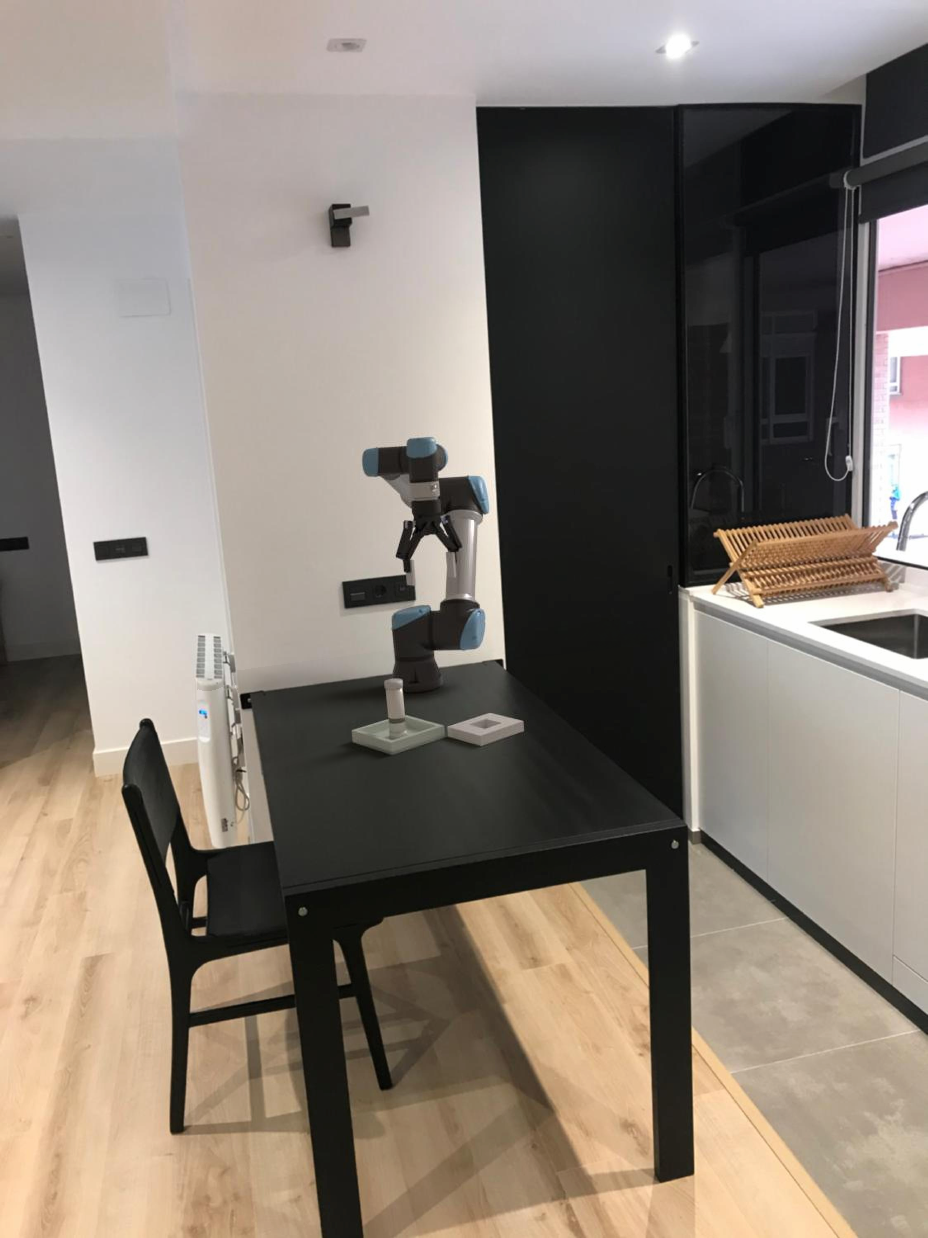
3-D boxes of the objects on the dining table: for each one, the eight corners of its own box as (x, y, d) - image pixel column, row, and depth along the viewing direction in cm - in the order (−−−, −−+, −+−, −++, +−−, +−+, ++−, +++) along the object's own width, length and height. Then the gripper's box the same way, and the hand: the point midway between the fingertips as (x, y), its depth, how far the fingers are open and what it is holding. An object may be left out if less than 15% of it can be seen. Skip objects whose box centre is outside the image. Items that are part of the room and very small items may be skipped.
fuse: (400, 732, 247) (395, 677, 244) (411, 736, 244) (406, 680, 241) (385, 737, 244) (380, 681, 241) (396, 740, 241) (391, 684, 238)
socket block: (490, 722, 253) (489, 712, 252) (524, 731, 244) (523, 721, 243) (448, 736, 244) (447, 726, 243) (481, 746, 235) (480, 735, 234)
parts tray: (404, 725, 255) (403, 714, 254) (445, 737, 243) (444, 725, 242) (352, 742, 245) (351, 730, 244) (392, 755, 233) (391, 742, 232)
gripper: (395, 504, 245) (402, 589, 249) (471, 493, 261) (477, 574, 265) (377, 503, 251) (384, 587, 255) (453, 493, 267) (458, 572, 271)
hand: (432, 581), depth 260 cm, fingers open, 13 cm apart
